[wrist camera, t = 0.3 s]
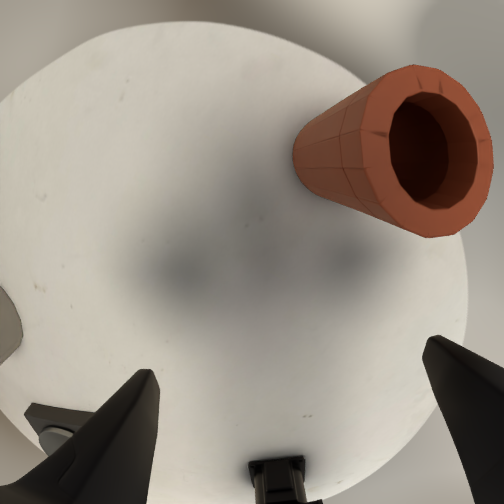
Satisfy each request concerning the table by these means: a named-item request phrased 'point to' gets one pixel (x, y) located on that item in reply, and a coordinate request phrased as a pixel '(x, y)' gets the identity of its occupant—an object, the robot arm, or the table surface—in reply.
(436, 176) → the jar
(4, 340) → the cup
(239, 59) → the table surface
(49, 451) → the scale pan
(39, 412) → the scale
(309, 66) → the table surface
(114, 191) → the table surface
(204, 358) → the table surface
